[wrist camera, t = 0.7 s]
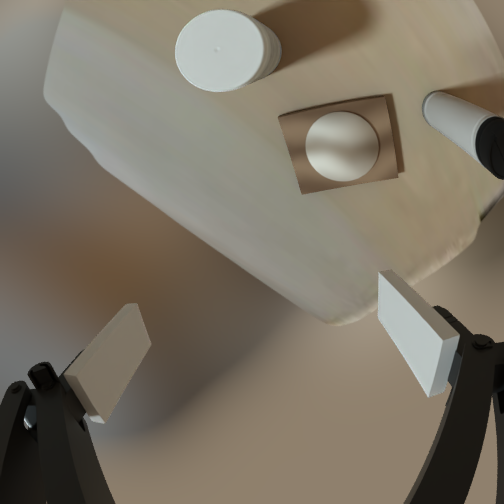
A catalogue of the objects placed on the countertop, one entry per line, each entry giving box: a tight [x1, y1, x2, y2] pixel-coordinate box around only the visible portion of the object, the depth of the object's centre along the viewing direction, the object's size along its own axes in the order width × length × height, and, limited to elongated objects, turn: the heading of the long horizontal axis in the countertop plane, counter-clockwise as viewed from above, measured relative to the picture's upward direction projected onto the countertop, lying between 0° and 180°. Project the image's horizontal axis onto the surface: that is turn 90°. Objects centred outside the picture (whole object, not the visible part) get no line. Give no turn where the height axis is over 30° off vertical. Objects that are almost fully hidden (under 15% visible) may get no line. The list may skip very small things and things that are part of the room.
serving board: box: [278, 96, 398, 194], centre depth 39 cm, size 13×16×2 cm
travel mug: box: [422, 91, 504, 180], centre depth 25 cm, size 6×7×20 cm
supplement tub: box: [175, 9, 282, 92], centre depth 28 cm, size 10×10×15 cm
